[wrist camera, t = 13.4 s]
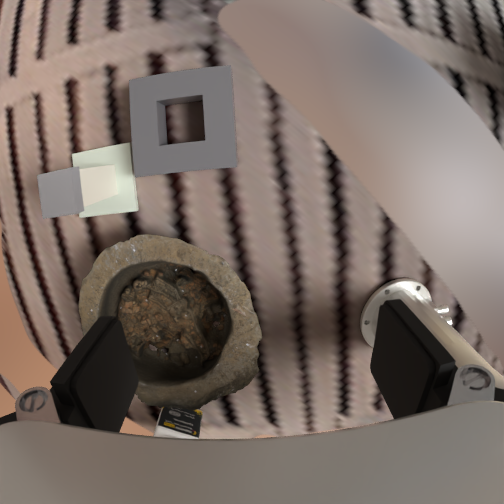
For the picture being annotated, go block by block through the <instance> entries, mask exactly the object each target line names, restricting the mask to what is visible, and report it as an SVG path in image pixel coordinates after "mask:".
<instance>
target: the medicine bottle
mask: <svg viewBox="0 0 504 504" xmlns="http://www.w3.org/2000/svg"><path fill="white" fill-rule="evenodd" d="M202 413H203V412H202V411H201V410H198V409H197V410H194V411H191V410H188V409H181V408H175V407H174V408H171V409H168V407H162V409H161V412H160V415H159V418H158V421H157V425H156V428H155V432H154V437H167V438H186V439H199V434H200V427H201V420H202Z"/></svg>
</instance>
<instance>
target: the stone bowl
mask: <svg viewBox="0 0 504 504" xmlns="http://www.w3.org/2000/svg"><path fill="white" fill-rule="evenodd" d="M190 268H191V269H193V270H194V271H198V272H199V273H195V274H193V273H192V271H191V270H190ZM175 280H176V281H175ZM79 314H80V317H81V323H82V329H83V335H84V336H85V334H86V333H87V332H88V331H89V329H90V328H91V327H92V326H93V324H94V323H95V322H96V321H97V319H98V318H99V317H100V316H115V317H116V318H117V320H120V321H121V323H122V326H123V330H124V333H125V337H126V340H127V343H128V347H129V350H130V353H131V357H132V360H133V363H134V366H135V369H136V372H137V375H138V380H139V383H138V387H137V389H136V392H135V394H136V395H138V398H139V399H141V402H144V403H146V404H147V405H150V406H158V407H160V408H162V407H168V409H171V408H174V407H175V408H181V409H188V410H191V411H194V410H197V409H200V408H201V407H202V406H203V405H204V404H205V405H206V404H207V403H208V402H210V401H212V400H216V399H218V398H219V396H221V397H222V396H225V395H228V394H231V393H236V392H237V390H241V389H243V388H244V387H245V386H247V385H248V384H249V383H250V382H251V381H252V379H253V378H254V376H255V375H256V374H257V373H258V371H259V368H258V366H257V358H258V356H259V352H258V349H257V346H258V343H259V340H261V339H262V332H261V329H260V326H259V322H258V318H257V315H256V313H255V312H254V309H253V306H252V301H251V296H250V293H249V291H248V289H247V288H246V285H245V284H244V282H241V280H240V279H239V277H238V275H237V274H236V273H235V272H234V271H233V270H232V269H231V268H230V266H229V264H228V263H227V262H226V261H225V260H224V259H223V258H222V257H219V256H215V255H209V254H208V253H207V251H204V250H202V249H200V248H198V247H196V246H194V245H191V244H187V243H186V242H184V241H182V240H180V239H177V238H169V237H165V236H159V235H150V234H147V235H137V236H135V237H134V238H130V240H129V241H128V240H126V241H125V242H118V243H117V244H116V245H113V246H111V247H106V248H105V250H104V251H103V252H102V253H101V254H100V255H99V257H98V258H97V259H96V261H95V262H94V264H93V267H92V270H91V271H90V273H89V274H88V276H86V277H85V278H83V280H82V285H81V290H80V297H79ZM214 321H218V322H220V324H219V325H218V326H217V327H215V326H213V322H214ZM149 344H151V345H153V346H155V347H156V348H158V349H157V351H152V350H151V349H150V348H149ZM164 347H166V348H169V352H168V353H163V352H162V351H161V349H163V348H164Z"/></svg>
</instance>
